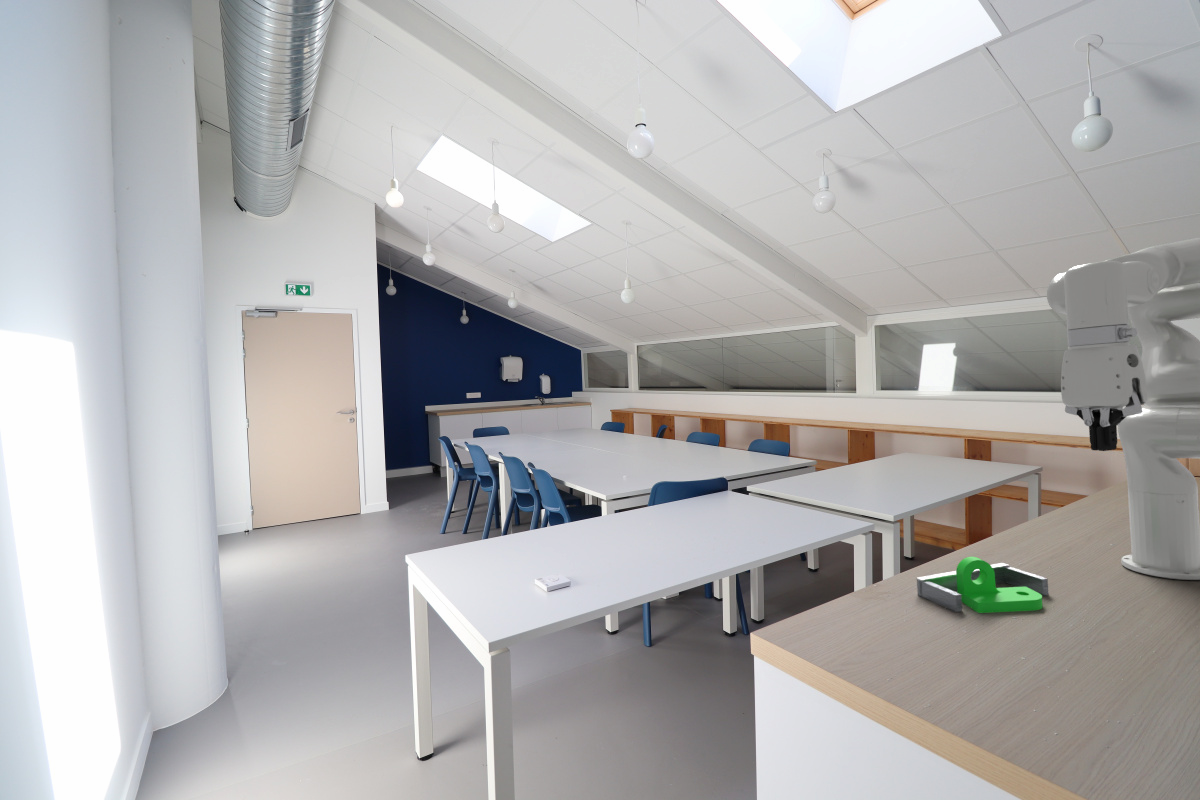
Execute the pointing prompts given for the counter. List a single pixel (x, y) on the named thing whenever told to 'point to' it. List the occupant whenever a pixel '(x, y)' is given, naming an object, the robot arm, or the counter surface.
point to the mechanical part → (992, 590)
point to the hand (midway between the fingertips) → (1103, 449)
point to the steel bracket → (945, 584)
